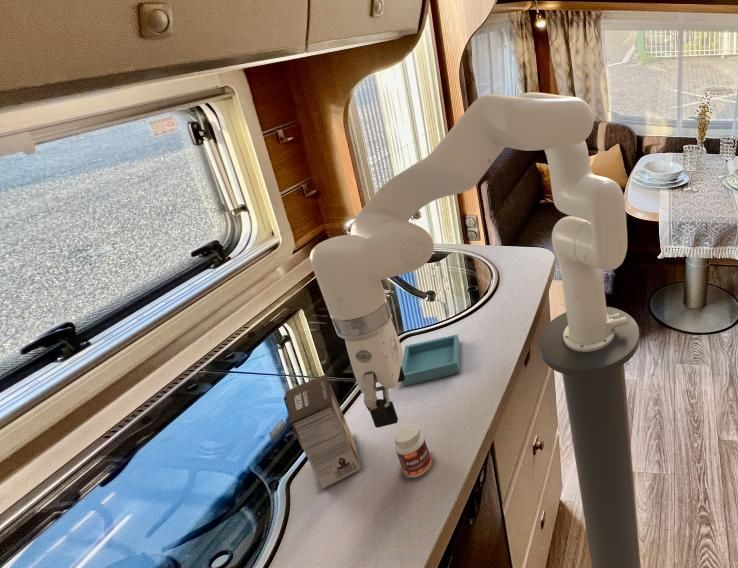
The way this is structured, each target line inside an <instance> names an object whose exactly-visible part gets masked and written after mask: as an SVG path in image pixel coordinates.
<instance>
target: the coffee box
mask: <svg viewBox="0 0 738 568" xmlns="http://www.w3.org/2000/svg"><path fill="white" fill-rule="evenodd" d="M285 398H286V404H287V405H286V407H287V414H288V420H289V424H290V426H291V428H292V430H293V432H294V434H295V436H296V438H297V439H298V442H299V444H300V446H301V448H302V450H303V452H304V454H305V456H306V458H307V460H308V462H309V465H310V466H311V468H312V470H313V472H314V474H315V476H316V478H317V481H318V482H319V484H320V486H321V488H322V489H325V488H327V487H329V486H331V485H333V484H335V483H337V482H339V481H341V480H343V479H344V478H346V477H349V476H350V475H353V474H355V473H356V472H358V471H360V470H361V462H360V458H359V455H358V451H357V446H356V443H355V439H354V437H353V435H352V432H351V430H350V427H349V425H348V422H347V421H346V418H345V416H344V414H343V411H342V409H341V406H340V404H339V401H338V400H337V397H336V395H335V392H334V390H333V388H332V386H331V383H330V381H329V378H328V375H327V374H323V375H321V376H318V377H316V378H313V379H311V380H308V381H306V382H304V383H301V384H299V385H297V386H295V387H293V388H289V389H288V390H286V391H285Z"/></svg>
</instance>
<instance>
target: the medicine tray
mask: <svg viewBox="0 0 738 568" xmlns="http://www.w3.org/2000/svg"><path fill="white" fill-rule="evenodd" d="M460 352H461V343H460V338H459V335H458V334H454V335H449V336H445V337H440V338H439V337H438V338H435V339H430V340H427V341H426V340H425V341H422V342H417V343H413V344H407V345H404V350H403V356H402V362H401V366H402V370H403V373H404V376H405V380H404V381H402V382H401V384H402V386H403V387H406V386H410V385H413V384H418V383H423V382H426V381H432V380H436V379H439V378H443V377H447V376H452V375H456V374H459V373H460V361H461V359H460V358H461V357H460V356H461V353H460Z"/></svg>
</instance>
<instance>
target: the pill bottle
mask: <svg viewBox="0 0 738 568" xmlns="http://www.w3.org/2000/svg"><path fill="white" fill-rule="evenodd" d="M393 440H394V444H395V445H394V450H395V452H396V456H397V458H398V461H399V464H400V466H401V469H402V472H403V474H404V475H405V477H407V478H417V477H420V476H422V475H423V474H425V473H426V472H427V471H428V470H429V469H430V468H431V466H432V461H433V460H432V457H431V453H430V450H429V447H428V445H427V441H426V438H425V435H424V434H423V433H422V432H421V430H420V427H419V426H418V425H417V424H416V423H407V424H405V425H401V426H400V427H399V428H397V430H396V431H395V432H394V434H393Z"/></svg>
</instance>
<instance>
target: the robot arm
mask: <svg viewBox="0 0 738 568" xmlns="http://www.w3.org/2000/svg"><path fill="white" fill-rule="evenodd" d="M594 123H595V116H594V113H593V110H592V108H591V106H590V105H589V104H588V103H587V102H586V101H585V100H583V99H582V98H580V97H577V96H571V95H560V94H554V93H547V92H534V91H533V92H531V91H529V92H524V93H522V94H519V95H517V96H513V95H505V94H498V93H497V94H495V93H489V94H483V95H482V96H479V97H478V98H476V99H475V100H474V101H473V102H471V105H469V107H468V108H467V109H466V111H465V112H464V113H463V114H462V115H461V117H459V119H458V120H457V121H456V122H455V124H454V125H453V126H452V127H451V128H450V130H449V131H448V132H447V134H446V135H444V137H443V138H442V139H441V140H440V142H439V143H438V144H437V146H436V147H435V148H434V149H433V150H432V151H431V152H430V153H429V155H427V156H426V157H424V158H422V159H421V160H419V161H417V162H416V163H413V164H412V165H411V166H409V167H407V168H405V170H403V171H402V172H400V173H398V174H396V175H395V176H393V177H392V178H390V179H389V180H388V181H387V182H385V183H384V184H383V185H382V186H381V187H380V188H379V189H378V190H376V192H375V193H373V195H372V196H371V197H370V199H369V200H368V201H367V202H366V203H365V205H364V206H363V208H361V210H360V211H359V212H358V214H357V215H356V217H354V220H353V222H352V224H351V227H350V231H349V234H343V235H336V236H333V237H330V238H328V239H325V240H323V241H321V242H318V243H317V244H316V245H315V246H314V247H313V248H312V249H311V251H310V253H309V262H310V265H311V268H312V271H313V273H314V276H315V278H316V281H317V284H318V287H319V290H320V292H321V294H322V297H323V301H324V302H325V305H326V308H327V311H328V314H329V316H330V319H331V321H332V325H333V327H334V329H335V332H336V335H337V336H338V337H339V338H341V339H343V340H344V342H345V347H346V351H347V354H348V358H349V362H350V365H351V368H352V369H351V370H352V372H353V376H354V378H355V381H356V384H357V386H358V388H359V391H360V392H361V393H362V394H363V403H364V405H365V407H366V409H367V410H368V412H369V413H370V416H371V419H372V422H373V425H374V427H375V428H376V429H377V428H382V427H386V426H390V425H394V424H398V421H399V418H398V417H399V416H398V414H397V412H396V408H395V406H394V403H393V400H390V395H389V394H390V393H389V389H394V388H395V387H396V386H397V384H398V383H402V381H404V380H405V376H404V373H403V370H402V362H403V356H404V350H403V347H402V344H401V341H400V338H399V336H398V333H397V330H396V328H395V326H394V323H393V320H392V319H393V314H392V312H391V311H392V310H391V308H390V305H389V302H388V298H387V295H386V291H385V288H384V285H383V282H382V281H383V280H387V279H390V278H391V279H392V278H394V277H398V276H402V275H406V274H409V273H412V272H415V271H416V270H419V269H421V268H422V267H423V266H425V265H426V264H427V263H428V262H429V261H430V259H431V258H432V256H433V254H434V250H435V245H434V244H435V243H434V240H433V237H432V236H431V234H430V233H429V232H428V231H427V230H426V229H424V228H423V227H421V226H419V225H417V224H415V223H413V222H411V221H410V220H411V218H412V217H413V216H414V215H415V214H416V213H417V212H418V211H420V210H421V209H423V207H425V206H426V205H428V204H430V203H432V202H434V201H437V200H439V199H442V198H445V197H449V196H455V195H459V194H462V193H465V192H468V191H470V190H472V189H474V188H475V187H476V186H477V185H478V183H479V182H480V181H481V179H482V178H483V177H484V175H486V173H487V171H488V170H489V169H490V167H491V166H492V165H493V163H494V162H495V161H496V160H497V158H498V157H499V156H500V155H501V153H502V152H503V151H504V149H506V148H509V149H513V150H519V151H528V152H529V151H542V150H543V151H544V153H545V156H546V161H547V165H548V172H549V180H550V188H551V195H552V200H553V204H554V206H555V208H556V210H558V211H559V212H561V213H563V214H565V215H567V216H564V217H561V218H560V219H559V220H558V221H557V222H556V223H555V224H554V226H553V228H552V232H551V245H552V248H553V252H554V255H555V257H556V260H557V262H558V266H559V270H560V275H561V276H560V277H561V283H562V289H563V298H564V304H565V312H566V313H567V320H568V326H567V327H566V328H565V330H564V333H563V338H564V342H565V344H566V345H567V346H568V347H569V348H571V349H573V350H575V351H580V352H591V351H596V350H599V349H601V348H604V347H605V346H607V345H608V344H609V343H610V342H611V341H612V340H613V338H614V336H615V327H616V326H622V325H626V324H627V319H626V317H622V318H620V317H619V313H617V314H613V315H607V310H606V307H607V303H606V302H607V299H606V291H605V283H604V282H605V280H604V271H613V270H616V269H618V268H619V267H620V266H621V265H622V264H623V262H624V260H625V259H626V255H627V252H628V227H627V225H628V224H627V211H626V201H625V200H626V199H625V196H624V192H623V190H622V187H621V186H620V185H619V184H618V182H617V181H616V180H613V179H611V178H608V177H605V176H601V175H596V174H594V173H593V171H592V168H591V163H590V155H589V149H588V145H587V141H586V140H587V139H588V138H589V136H590V135H591V133H592V131H593V129H594V125H595V124H594ZM378 383H379V384H380V385H379V386H377V384H378ZM377 392H382V398H378V397H377Z"/></svg>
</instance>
